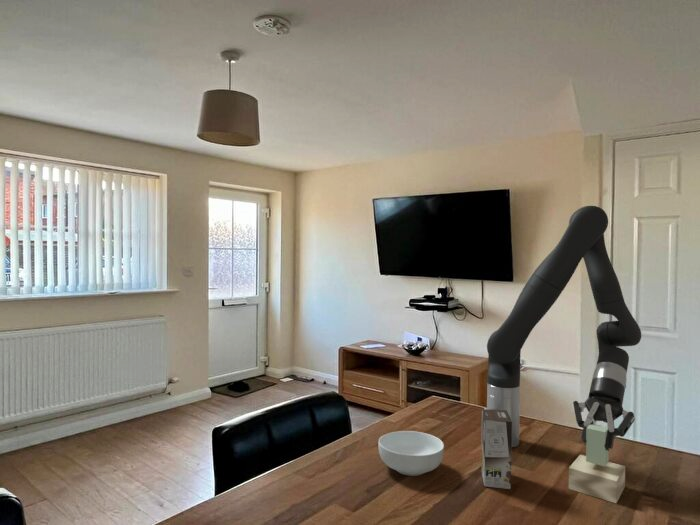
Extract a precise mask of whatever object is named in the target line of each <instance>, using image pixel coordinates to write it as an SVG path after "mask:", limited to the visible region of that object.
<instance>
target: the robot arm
mask: <svg viewBox="0 0 700 525" xmlns="http://www.w3.org/2000/svg"><path fill="white" fill-rule="evenodd" d="M608 225H609V218H608V214H607V212H606V211H605V210H604V209H603V208H601V207H599V206H596V205H585V206H582V207H580V208H578V209H577V210H576V211H574V212H573V213H572V214H571V215H570V218H569V222H568V226H567V227H566V229H565V231H564V233H563V235H562V236H561V238H560V240H559V242H558V243H557V244H556V246H555V247H554V248H553V249H552V251H551V252H550V253H548V255H547V256H546V257H544V259H543V260H542V261H541V263H540V264H539V265H538V266H537V267H536V269H535V270H534V272H533V273H532V274H531V276H530V277H529V279H528V280H527V282H526V283H525V285H524V286H523V288H522V290H521V292H520V293H519V296H518V298H517V299H516V301H515V304H514V305H513V308H512V309H511V312H510V314H509V315H508V317H507V318H506V319H505V320H504V321H503V323H502V324H501V325H500V326H499V328H498V329H497V330H495V331H494V332H492V333H491V335H490V336H489V338H488V340H487V344H486V350H487V353H488V358H487V363H488V364H487V375H486V376H487V378H486V384H487V386H486V393H487V394H486V407H485V408H484V409H489V410H491V409H494V410H507V412H508V414H509V416H510V418H511V420H512V448H514V447H518V446H519V444H520V411H521V410H520V409H521V408H520V404H521V403H520V400H521V399H520V398H521V397H520V395H521V392H520V390H521V389H520V388H521V387H520V386H521V385H520V383H521V350H522V349H523V347H524V345H525V343H526V341H527V339H528V337H529V336H530V334H531V332H532V331H533V329H534V328H535V327H536V325H538V323H539V322H540V321H541V320H543V318H544V316H546V314H547V313H548V311H550V309H551V308H552V307H553V305H554V304H555V303H556V302H557V300H558V299H559V297H560V296H561V294H562V292H563V291H564V290H565V288H566V287H567V285H568V283H569V282H570V280H571V279H572V277H573V276H574V273H575V271H576V269H577V268H578V266H579V264H580V262H581V261H582V259H583V261H584V264H585V268H586V269H585V270H586V272H587V276H588V279H589V284H590V288H591V293H592V296H593V300H594V303H595V307H596V309H597V311H598V312H599V313H600V314H604V315H610V316H613V317H614V318H616V320H611V321H604V322H601V323H600V324H599V325H598V326H597V328H596V337H597V338H596V339H597V347H598V356H597V360H596V361H597V362H596V364H595V365H596V366H595V369H594V371H593V374H592V378H591V383H590V388H589V393H588V397H587V399H586V400H585V401H584V402H582V401H581V402H579V401H577V400H574V401H573V403H572V404H573V410H574V414H575V420H576V424H577V427H579V428H581V429H582V433H581V441H582V442H583V444H584V446H586V443H587V440H586V428H587V427H588V426H589V425H590V424H595V425H596V423H597V422H604V423H607V427H608V432H607V437H606V442H605V445H604V447H605V449H606V450H608V451H610V450H612V449H613V448H614V442H615V438H616V437H618V436H619V437H621V438H623V437H624V436H625V435H626V434H627V433H628V431H629V429H630V428H631V426H632V425H633V424H634V422H635V421H636V418H635V417H636V416H635V413H634V412H633V411H626V410H624V407H623V403H624V397H625V392H626V391H625V390H626V389H627V375H628V374H627V373H628V367H629V363H630V362H629V361H630V356H629V354H628V352H627V351H626V350H624V349H623V348H621V347H634V346H637V345H639V343H640V341H641V339H642V331H641V327H640V326H639V324H638V322H637V321H636V320H635V318H634V316H633V315H632V313H631V312H630V309H629V308H628V306H627V304H626V301H625V298H624V295H623V291H622V288H621V285H620V282H619V279H618V276H617V274H616V271H615V268H614V266H613V264H612V262H611V260H610V257H609V255H608V251H607V248H606V242H605V232H606V231H607V229H608ZM585 408H586V409H587V411H588V414H587V415H586V418H585V420H583V417H582V412H584V409H585ZM621 416H622V421H621V422H620V424H619V425H618V427H615V421H616V420H617V419H618V418H620V417H621Z"/></svg>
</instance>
